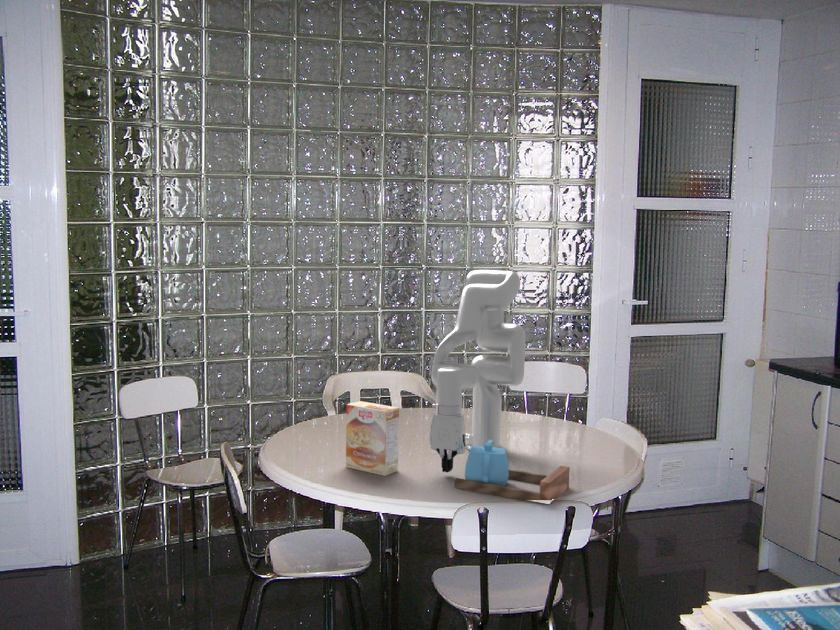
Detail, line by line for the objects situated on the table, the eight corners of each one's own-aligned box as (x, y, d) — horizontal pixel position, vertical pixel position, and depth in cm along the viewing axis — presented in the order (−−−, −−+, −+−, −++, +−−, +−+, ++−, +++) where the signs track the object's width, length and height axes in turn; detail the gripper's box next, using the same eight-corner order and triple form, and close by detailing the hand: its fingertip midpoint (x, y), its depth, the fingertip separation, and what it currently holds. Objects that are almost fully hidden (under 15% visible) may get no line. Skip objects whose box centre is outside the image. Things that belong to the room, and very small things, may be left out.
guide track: (454, 487, 222) (455, 466, 221) (479, 472, 237) (480, 452, 237) (548, 505, 209) (549, 483, 209) (568, 487, 225) (569, 466, 224)
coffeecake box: (344, 467, 239) (345, 404, 237) (359, 462, 245) (360, 400, 243) (384, 476, 231) (386, 411, 229) (398, 471, 237) (400, 406, 235)
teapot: (509, 476, 235) (510, 438, 234) (507, 493, 217) (509, 451, 216) (467, 473, 236) (469, 435, 236) (462, 489, 219) (464, 448, 218)
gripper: (420, 408, 231) (418, 470, 233) (466, 415, 224) (464, 478, 226) (432, 404, 238) (430, 464, 239) (477, 410, 231) (475, 472, 232)
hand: (447, 470), depth 233 cm, fingers closed
